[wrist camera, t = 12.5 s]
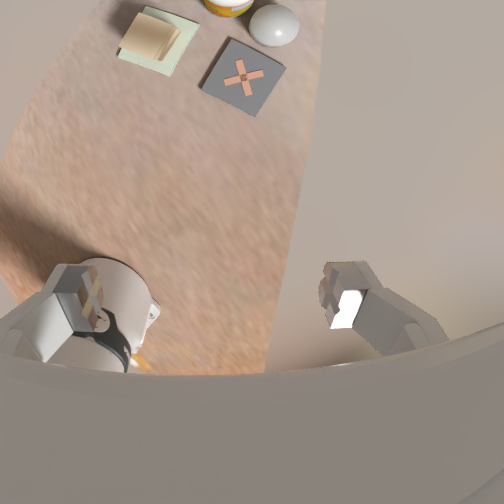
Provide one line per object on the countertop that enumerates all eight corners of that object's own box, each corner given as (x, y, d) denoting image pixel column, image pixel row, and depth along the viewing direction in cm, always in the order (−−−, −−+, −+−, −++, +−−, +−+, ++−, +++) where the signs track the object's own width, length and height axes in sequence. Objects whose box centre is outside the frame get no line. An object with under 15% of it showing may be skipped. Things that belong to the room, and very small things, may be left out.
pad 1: (170, 76, 27) (169, 76, 26) (119, 57, 24) (117, 57, 24) (200, 25, 24) (199, 24, 23) (147, 7, 21) (145, 5, 21)
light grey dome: (279, 54, 27) (284, 53, 24) (240, 35, 25) (242, 31, 23) (300, 23, 24) (307, 19, 22) (261, 3, 23) (265, -4, 20)
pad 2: (254, 116, 31) (255, 117, 30) (201, 89, 28) (200, 90, 28) (285, 68, 28) (286, 68, 27) (231, 39, 25) (231, 38, 25)
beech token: (162, 61, 25) (151, 59, 21) (133, 49, 24) (118, 46, 20) (181, 31, 23) (173, 25, 19) (150, 19, 22) (138, 12, 18)
